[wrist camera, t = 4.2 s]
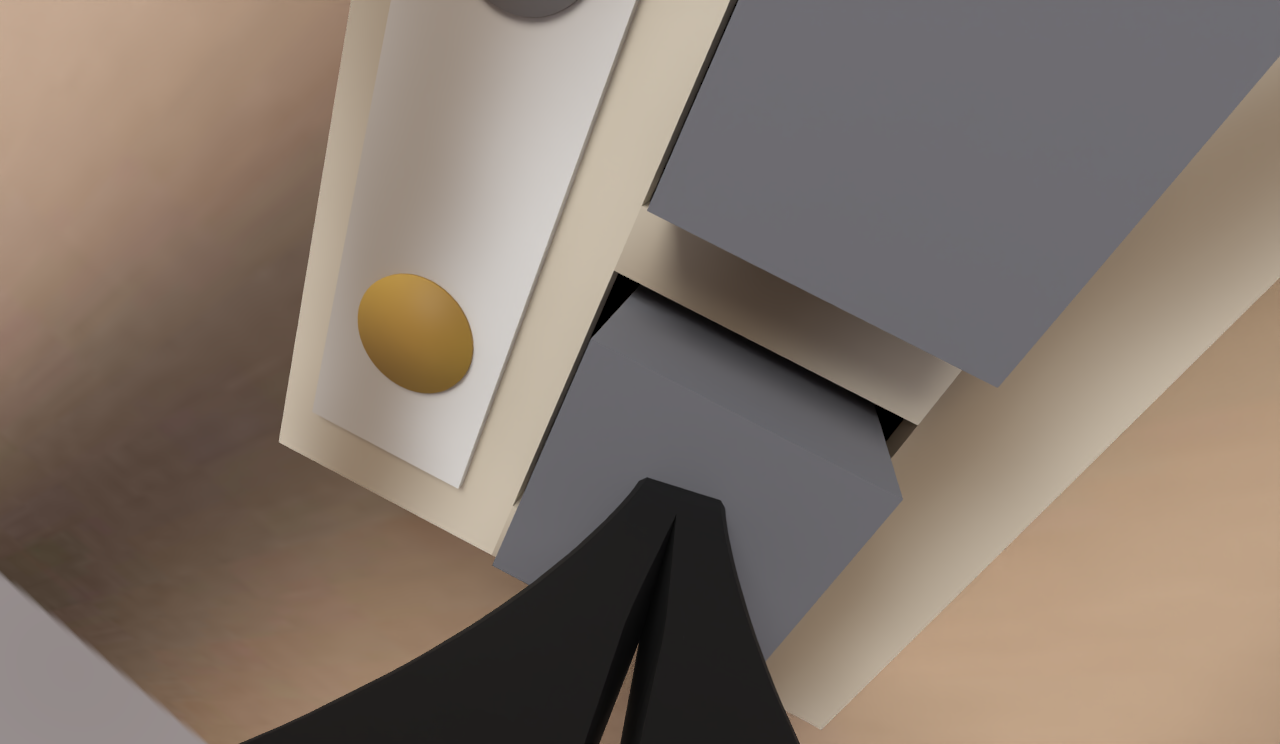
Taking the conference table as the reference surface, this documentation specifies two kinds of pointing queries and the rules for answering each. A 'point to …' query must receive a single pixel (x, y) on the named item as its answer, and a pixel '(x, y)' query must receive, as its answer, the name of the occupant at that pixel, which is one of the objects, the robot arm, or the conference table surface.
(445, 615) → the conference table surface
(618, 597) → the robot arm
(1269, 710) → the conference table surface
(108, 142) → the conference table surface
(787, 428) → the button
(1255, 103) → the button box
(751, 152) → the button
